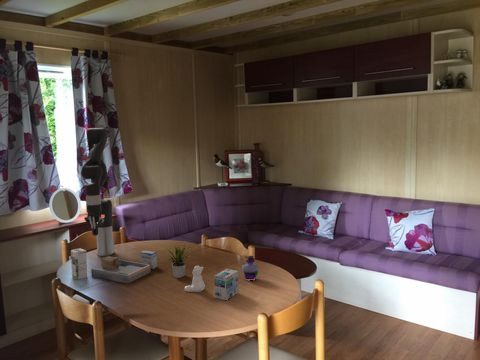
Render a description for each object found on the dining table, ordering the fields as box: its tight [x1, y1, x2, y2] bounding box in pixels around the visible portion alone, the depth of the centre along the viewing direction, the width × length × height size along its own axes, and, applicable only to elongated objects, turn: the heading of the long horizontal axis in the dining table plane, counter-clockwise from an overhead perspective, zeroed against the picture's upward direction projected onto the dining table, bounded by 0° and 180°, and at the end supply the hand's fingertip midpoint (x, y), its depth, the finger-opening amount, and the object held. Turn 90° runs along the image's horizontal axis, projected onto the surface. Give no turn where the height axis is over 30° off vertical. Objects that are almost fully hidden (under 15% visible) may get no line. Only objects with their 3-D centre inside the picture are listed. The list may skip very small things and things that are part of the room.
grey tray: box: [90, 258, 152, 284], centre depth 228 cm, size 18×24×4 cm
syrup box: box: [70, 248, 88, 281], centre depth 222 cm, size 6×6×14 cm
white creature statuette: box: [184, 265, 206, 293], centre depth 205 cm, size 10×9×12 cm
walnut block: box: [101, 255, 119, 270], centre depth 231 cm, size 5×7×5 cm
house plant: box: [166, 245, 194, 279], centre depth 223 cm, size 14×14×16 cm
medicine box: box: [139, 250, 158, 270], centre depth 238 cm, size 8×4×9 cm, turn 68°
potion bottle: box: [241, 255, 260, 279], centre depth 218 cm, size 9×9×12 cm
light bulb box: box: [214, 268, 240, 301], centre depth 198 cm, size 11×7×11 cm, turn 148°
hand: (95, 235), depth 233 cm, fingers closed
